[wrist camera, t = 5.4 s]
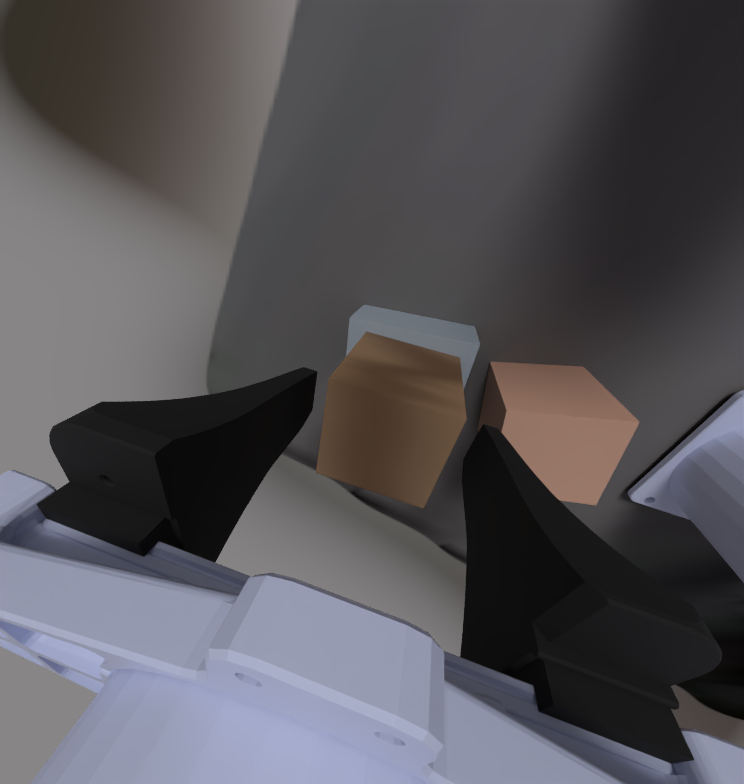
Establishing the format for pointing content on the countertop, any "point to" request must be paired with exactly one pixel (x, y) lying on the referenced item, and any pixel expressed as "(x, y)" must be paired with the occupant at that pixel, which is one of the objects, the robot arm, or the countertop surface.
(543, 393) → the terracotta block
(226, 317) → the countertop surface
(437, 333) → the plinth block
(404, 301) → the countertop surface
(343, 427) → the walnut block
